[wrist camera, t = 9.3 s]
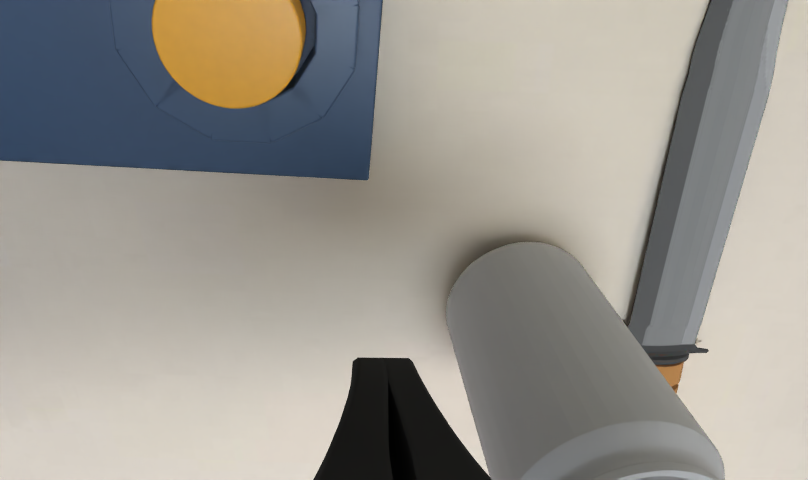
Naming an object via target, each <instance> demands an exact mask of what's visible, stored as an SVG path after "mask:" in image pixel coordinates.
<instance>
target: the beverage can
mask: <svg viewBox="0 0 808 480" xmlns="http://www.w3.org/2000/svg"><path fill="white" fill-rule="evenodd" d="M446 321H447V326H448V330H449V334H450V337H451V341H452V344H453V348H454V351H455V355H456V358H457V362H458V365H459V369H460V372H461V376H462V379H463V383H464V387H465V390H466V394H467V397H468V401H469V404H470V408H471V411H472V415H473V418H474V422H475V425H476V429H477V432H478V436H479V439H480V443H481V447H482V450H483V454H484V457H485V461H486V464H487V468H488V471H489V475H490V478H491V479H492V480H725V475H724V465H723V461H722V458H721V456H720V454H719V452H718V450H717V449H716V447H715V446H714V444H713V443H712V442H711V440H710V439H709V438H708V436H707V435H706V434H705V432H704V431H703V429H702V428H701V427H700V425H699V424H698V423H697V421H696V420H695V419H694V417H693V416H692V415H691V413H690V412H689V410H688V409H687V408H686V406H685V405H684V404H683V402H682V401H681V400H680V398H679V397H678V396H677V394H676V393H675V391H674V390H673V389H672V387H671V386H670V385H669V383H668V382H667V381H666V379H665V378H664V376H663V375H662V374H661V372H660V371H659V370H658V368H657V367H656V366H655V364H654V363H653V362H652V360H651V359H650V357H649V356H648V355H647V353H646V352H645V351H644V349H643V348H642V347H641V345H640V344H639V343H638V341H637V340H636V338H635V337H634V336H633V334H632V333H631V332H630V330H629V329H628V328H627V326H626V325H625V323H624V322H623V321H622V319H621V318H620V317H619V315H618V314H617V313H616V311H615V310H614V309H613V307H612V306H611V304H610V303H609V302H608V300H607V299H606V298H605V296H604V295H603V294H602V292H601V291H600V289H599V288H598V287H597V285H596V284H595V283H594V281H593V280H592V279H591V277H590V276H589V275H588V273H587V272H586V270H585V269H584V268H583V266H582V265H581V264H580V263H579V262H578V261H577V260H576V259H575V258H574V257H573V256H572V255H570V254H569V253H568V252H566V251H564V250H563V249H560V248H558V247H556V246H553V245H550V244H545V243H540V242H520V243H513V244H509V245H505V246H502V247H499V248H496V249H494V250H492V251H490V252H488V253H486V254H484V255H482V256H481V257H479V258H478V259H476V260H475V261H474V262H473V263H471V264H470V265H469V266H468V267H467V268H466V269H465V270H464V271H463V272H462V274H461V275H460V276H459V277H458V279H457V280H456V282H455V284H454V286H453V287H452V290H451V292H450V295H449V297H448V301H447V307H446Z"/></svg>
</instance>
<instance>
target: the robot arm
mask: <svg viewBox="0 0 808 480" xmlns="http://www.w3.org/2000/svg"><path fill="white" fill-rule="evenodd" d="M314 480H492V479H491V478H490V477H489V476H488V475H487V473H486V472H485V471H484V470H483V469H482V468H481V466H480V465H479V464H478V463H477V462H476V460H475V459H474V458H473V457H472V455H471V454H470V453H469V452H468V450H467V449H466V448H465V446H464V445H463V444H462V442H461V441H460V440H459V438H458V437H457V436H456V434H455V433H454V431H453V430H452V428H451V427H450V426H449V424H448V422H447V421H446V419H445V418H444V416H443V415H442V413H441V412H440V410H439V409H438V407H437V406H436V404H435V402H434V401H433V399H432V397H431V396H430V394H429V392H428V390H427V389H426V387H425V385H424V383H423V382H422V380H421V378H420V376H419V374H418V372H417V370H416V368H415V366H414V364H413V362H412V361H411V360H410V359H409V358H357V359H355V360H354V361H353V365H352V378H351V386H350V390H349V394H348V398H347V401H346V404H345V407H344V411H343V414H342V417H341V420H340V422H339V425H338V428H337V430H336V432H335V435H334V437H333V440H332V442H331V444H330V447H329V449H328V451H327V454H326V456H325V458H324V460H323V462H322V464H321V466H320V468H319V470H318V472H317V474H316V476H315V478H314Z"/></svg>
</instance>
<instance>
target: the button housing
mask: <svg viewBox="0 0 808 480" xmlns="http://www.w3.org/2000/svg"><path fill="white" fill-rule="evenodd" d="M300 2H301V5H302V8H303V11H304V16H305V22H306V35H305V42H304V47H303V51H302V55H301V59H300V62H299V65H298V68H297V70H296V72H295V74H294V76H293V78H292V79H291V81H290V82H289V84H288V85H287V86H286V87H285V88H284V89H283V90H282V91H281V92H280V93H279V94H278V95H276V96H275V97H274V98H272V99H270V100H269V101H267V102H265V103H262V104H260V105H257V106H253V107H249V108H241V109H231V108H224V107H219V106H215V105H212V104H209V103H206V102H204V101H202V100H200V99H198V98H196V97H194V96H193V95H191V94H190V93H189V92H187V91H186V90H185V89H183V88H182V87H181V86H180V85H179V84H178V83H177V82H176V81H175V80H174V79H173V78H172V77H171V75H170V74H169V72H168V71H167V70H166V68H165V67H164V65H163V63H162V61H161V60H160V57H159V55H158V53H157V50H156V47H155V43H154V40H153V34H152V12H153V7H154V3H155V0H0V160H2V161H21V162H39V163H57V164H76V165H94V166H112V167H131V168H149V169H168V170H186V171H204V172H223V173H241V174H259V175H278V176H296V177H315V178H333V179H351V180H368V179H369V170H370V157H371V144H372V131H373V118H374V106H375V93H376V80H377V67H378V54H379V41H380V29H381V16H382V3H383V0H300Z"/></svg>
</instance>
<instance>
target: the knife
mask: <svg viewBox="0 0 808 480" xmlns="http://www.w3.org/2000/svg"><path fill="white" fill-rule="evenodd" d="M787 4H788V0H711V2H710V5H709V8H708V11H707V13H706V16H705V19H704V21H703V24H702V27H701V30H700V33H699V36H698V39H697V42H696V45H695V48H694V51H693V55H692V60H691V65H690V69H689V74H688V77H687V80H686V84H685V87H684V90H683V93H682V97H681V101H680V105H679V110H678V114H677V119H676V123H675V127H674V132H673V136H672V140H671V145H670V149H669V153H668V158H667V162H666V167H665V171H664V175H663V180H662V184H661V188H660V193H659V197H658V201H657V206H656V210H655V215H654V219H653V223H652V228H651V232H650V236H649V241H648V245H647V249H646V254H645V258H644V263H643V267H642V271H641V276H640V280H639V284H638V289H637V293H636V298H635V302H634V306H633V311H632V315H631V319H630V324H629V325H628V326H627V328H628V329H629V330H630V332H631V333H632V334H633V336H634V337H635V338H636V340H637V341H638V343H639V344H640V345H641V347H642V348H643V349H644V351H645V352H646V353H647V355H648V356H649V357H650V359H651V360H652V362H653V363H654V364H655V366H656V367H657V368H658V370H659V371H660V372H661V374H662V375H663V376H664V378H665V379H666V381H667V382H668V383H669V385H670V386H671V387H672V389H673V390H674V391H675V393H677V389H678V383H679V381H680V378H681V373H682V368H683V363H684V361H686V360H687V359H688V356H689V353H707V352H708V351H709V350H708V349H704V348H697V347H696V345H695V341H696V338H697V335H698V331H699V328H700V325H701V323H702V319H703V316H704V312H705V309H706V306H707V302H708V299H709V296H710V292H711V289H712V285H713V282H714V279H715V275H716V272H717V268H718V265H719V262H720V258H721V255H722V252H723V248H724V245H725V241H726V238H727V235H728V231H729V228H730V225H731V221H732V218H733V214H734V211H735V208H736V204H737V201H738V197H739V194H740V191H741V187H742V184H743V181H744V177H745V174H746V170H747V167H748V164H749V160H750V157H751V153H752V150H753V147H754V143H755V140H756V137H757V133H758V130H759V126H760V123H761V120H762V116H763V113H764V110H765V106H766V103H767V99H768V96H769V91H770V87H771V83H772V78H773V73H774V67H775V61H776V54H777V49H778V44H779V39H780V34H781V29H782V24H783V20H784V16H785V12H786V8H787Z"/></svg>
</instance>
